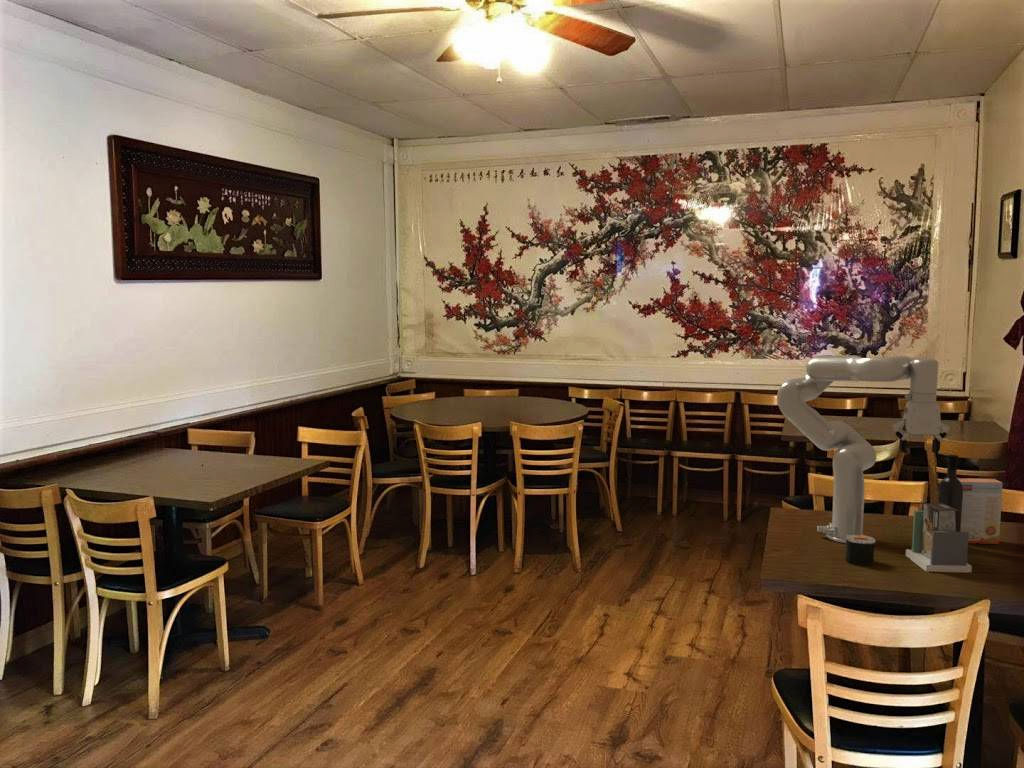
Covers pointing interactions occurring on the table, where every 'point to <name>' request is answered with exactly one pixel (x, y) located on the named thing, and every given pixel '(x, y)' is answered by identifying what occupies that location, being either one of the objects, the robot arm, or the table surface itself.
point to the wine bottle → (951, 488)
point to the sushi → (860, 550)
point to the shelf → (939, 549)
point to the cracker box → (981, 510)
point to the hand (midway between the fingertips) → (919, 452)
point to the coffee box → (937, 523)
